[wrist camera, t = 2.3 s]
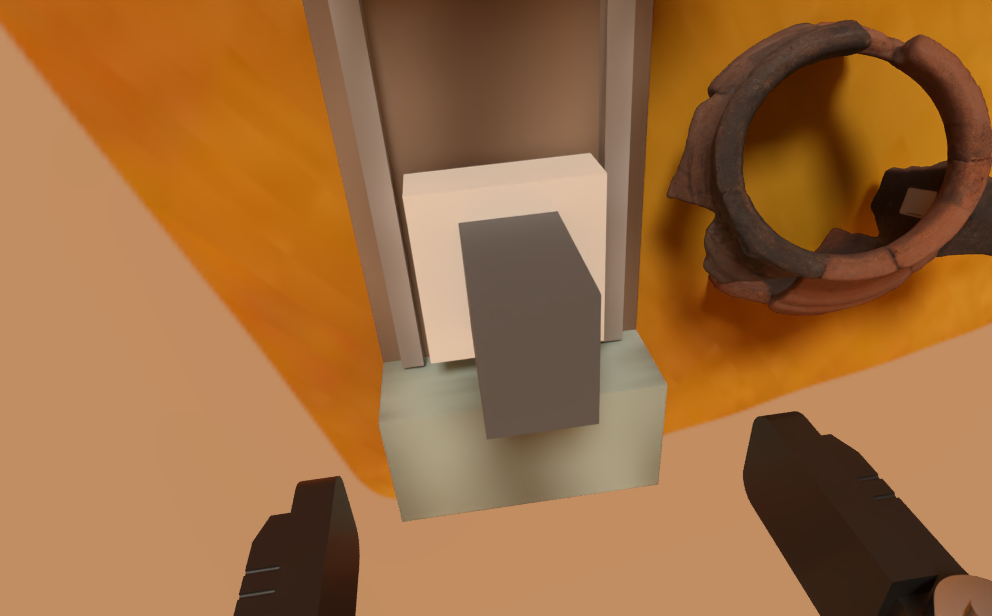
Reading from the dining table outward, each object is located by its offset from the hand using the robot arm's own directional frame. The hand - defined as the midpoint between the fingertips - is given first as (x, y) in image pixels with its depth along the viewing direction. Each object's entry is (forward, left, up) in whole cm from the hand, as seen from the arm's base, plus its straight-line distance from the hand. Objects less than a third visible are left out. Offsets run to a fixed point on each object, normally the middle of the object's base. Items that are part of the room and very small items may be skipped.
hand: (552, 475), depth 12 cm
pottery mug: (-12, -1, -13) cm, 17 cm away
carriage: (0, 0, -11) cm, 11 cm away
